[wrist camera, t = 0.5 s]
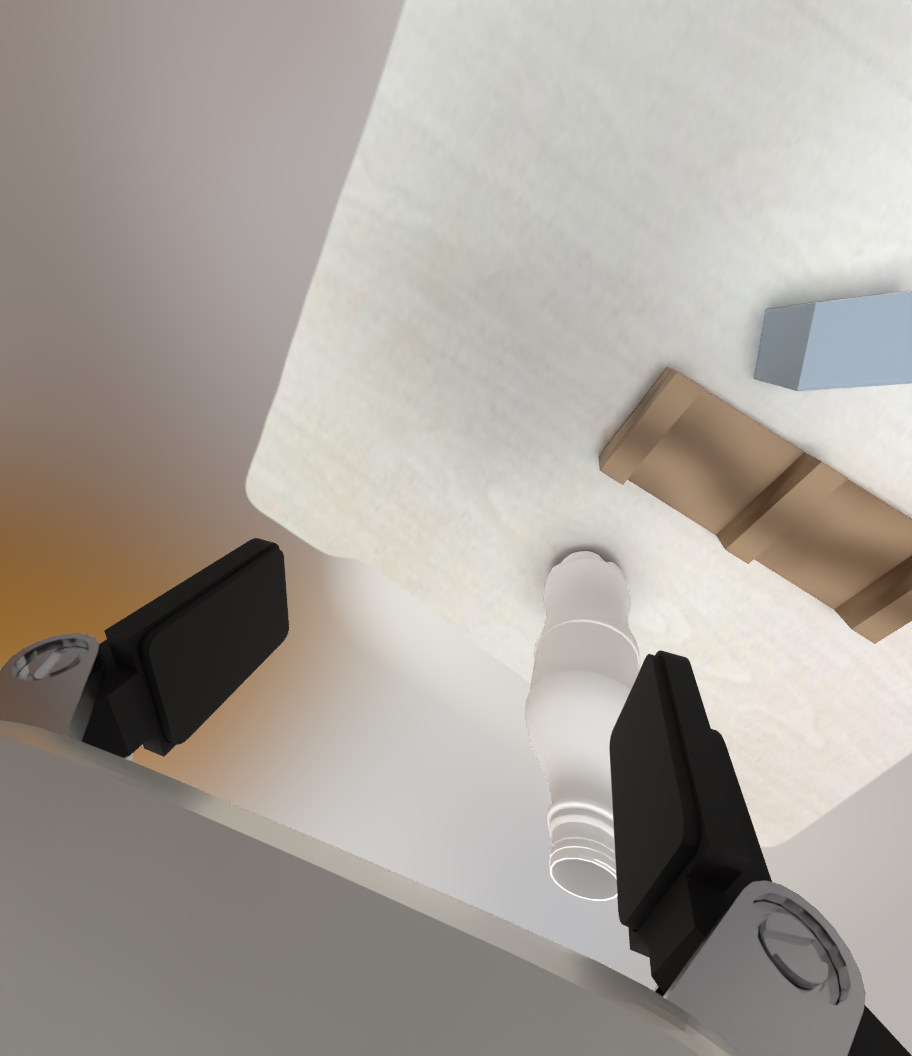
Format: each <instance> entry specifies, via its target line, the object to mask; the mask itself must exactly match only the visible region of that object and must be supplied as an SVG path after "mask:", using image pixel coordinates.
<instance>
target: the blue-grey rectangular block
mask: <svg viewBox="0 0 912 1056" xmlns="http://www.w3.org/2000/svg"><path fill="white" fill-rule="evenodd" d="M754 379H756V380H760V381H764V382H767V383H771V384H774V385H778V386H781V387H785V388H789V389H792V390H796V391H804V390H819V389H834V388H849V387H864V386H879V385H894V384H909V383H912V291H904V292H895V293H887V294H878V295H870V296H861V297H853V298H845V299H836V300H828V301H820V302H813V303H805V304H797V305H790V306H787V307H779V308H771V309H766V311H765V317H764V323H763V329H762V335H761V340H760V346H759V352H758V358H757V364H756V370H755V375H754Z"/></svg>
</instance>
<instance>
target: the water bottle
mask: <svg viewBox="0 0 912 1056" xmlns="http://www.w3.org/2000/svg"><path fill="white" fill-rule="evenodd" d="M543 600H544V604H545V609H546V620H545V625H544V628H543V631H542V633H541V635H540V637H539V639H538V640H537V642H536V645H535V649H534V659H535V661H534V668H533V674H532V680H531V687H530V692H529V694H528V697H527V700H526V709H525V719H526V727H527V732H528V736H529V739H530V742H531V745H532V748H533V750H534V752H535V755H536V758H537V760H538V762H539V765H540V767H541V769H542V771H543V773H544V775H545V778H546V780H547V782H548V785H549V788H550V792H551V800H552V804H551V805H550V806H549V808H548V810H547V817H546V818H547V824H548V826H549V836H550V838H551V841H552V842H551V847H550V857H549V864H550V875H551V877H552V878H553V880H554V881H555V883H556V884H557V885H559V886H560V887H562V889H564V890H565V891H567V892H569V893H571V894H573V895H575V896H577V897H580V898H584V899H588V900H595V901H606V900H609V899H614V898H616V897H617V879H616V860H615V842H614V824H613V806H612V788H611V770H610V751H609V744H610V737H611V733H612V730H613V728H614V726H615V724H616V722H617V719H618V717H619V715H620V713H621V711H622V708H623V706H624V704H625V702H626V700H627V697H628V695H629V693H630V691H631V689H632V687H633V684H634V682H635V680H636V678H637V676H638V673H639V671H640V664H641V662H640V655H639V649H638V646H637V643H636V640H635V638H634V636H633V634H632V633H631V631H630V629H629V626H628V621H627V620H628V613H629V610H630V594H629V589H628V584H627V581H626V579H625V577H624V575H623V573H622V572H621V570H620V569H619V567H618V566H617V565H616V564H615V563H613V562H605V561H604V560H603V559H602V558H601V557H600V556H599V555H598V554H595V553H593V552H589V551H581V552H575V553H572V554H570V555H569V556H567V557H566V558H565V559H563V561H562V562H561V563H560V564H557V565H556V566H554V567H553V568H552V569H551V571H550V573H549V575H548V577H547V580H546V584H545V588H544V595H543Z"/></svg>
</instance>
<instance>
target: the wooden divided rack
mask: <svg viewBox="0 0 912 1056" xmlns="http://www.w3.org/2000/svg"><path fill="white" fill-rule="evenodd" d="M599 466H600V471H601V472H603V473H605V474H606V475H608V476H609V477H611V478H613V479H614V480H616V481H617V482H619V483H621V484H622V485H623V484H624V483H625V481H626V480H627V479H628V480H629V481H631V482H633V483H634V484H636V485H637V486H639V487H640V488H642V489H644V490H645V491H647V492H648V493H650V494H652V495H653V496H655V497H656V498H658V499H660V500H661V501H663V502H664V503H666V504H667V505H669V506H671V507H672V508H674V509H675V510H677V511H679V512H680V513H682V514H683V515H685V516H687V517H688V518H690V519H691V520H693V521H694V522H696V523H698V524H699V525H701V526H702V527H704V528H706V529H707V530H709V531H710V532H712V533H713V534H715V535H716V536H717V537H718V539H719V540H720V542H721V544H722V545H723V547H724V548H725V550H727V551H728V552H730V553H732V554H733V555H735V556H736V557H738V558H739V559H741V560H743V561H744V562H746V563H747V564H749V563H750V562H751V561H752V560H753V559H755V560H756V561H758V562H760V563H761V564H763V565H764V566H766V567H767V568H769V569H771V570H772V571H774V572H775V573H777V574H779V575H780V576H782V577H783V578H785V579H786V580H788V581H790V582H791V583H793V584H794V585H796V586H798V587H799V588H801V589H802V590H804V591H806V592H807V593H809V594H810V595H812V596H813V597H815V598H817V599H818V600H820V601H821V602H823V603H825V604H826V605H828V606H829V607H831V608H832V609H834V610H835V611H836V612H837V613H838V614H839V616H840V617H841V618H842V619H843V620H844V621H845V622H846V623H847V625H848V626H849V627H850V628H851V629H852V630H854V631H855V632H857V633H858V634H860V635H862V636H863V637H865V638H866V639H868V640H870V641H871V642H873V643H874V644H875V643H877V642H878V641H880V640H882V639H883V638H885V637H886V636H888V635H890V634H891V633H893V632H895V631H896V630H898V629H899V628H901V627H903V626H904V625H906V624H907V623H909V622H911V621H912V519H910V518H909V517H907V516H906V515H904V514H902V513H901V512H899V511H898V510H896V509H894V508H893V507H891V506H890V505H888V504H886V503H885V502H883V501H882V500H880V499H878V498H877V497H875V496H874V495H872V494H870V493H869V492H867V491H866V490H864V489H862V488H861V487H859V486H858V485H856V484H854V483H853V482H851V481H850V480H848V478H847V477H845V476H844V475H842V474H840V473H839V472H837V471H836V470H834V469H832V468H831V467H829V466H828V465H826V464H824V463H823V462H821V461H819V460H817V459H816V458H814V457H812V456H810V455H809V454H807V453H805V452H803V451H802V450H800V449H798V448H797V447H795V446H794V445H792V444H790V443H789V442H787V441H786V440H784V439H782V438H781V437H779V436H778V435H776V434H774V433H773V432H771V431H770V430H768V429H766V428H765V427H763V426H762V425H760V424H759V423H757V422H755V421H754V420H752V419H751V418H749V417H747V416H746V415H744V414H743V413H741V412H739V411H738V410H736V409H735V408H733V407H731V406H730V405H728V404H727V403H725V402H723V401H722V400H720V399H719V398H717V397H715V396H714V395H712V394H711V393H709V392H707V391H706V390H704V389H703V387H701V386H700V385H698V384H697V383H695V382H693V381H692V380H690V379H689V378H687V377H685V376H684V375H682V374H681V373H679V372H677V371H675V370H673V369H670V368H668V367H667V368H666V369H665V371H664V372H663V373H662V375H661V376H660V377H659V379H658V380H657V381H656V382H655V384H654V385H653V386H652V388H651V389H650V390H649V392H648V393H647V394H646V395H645V397H644V398H643V399H642V401H641V402H640V403H639V405H638V406H637V407H636V408H635V410H634V411H633V412H632V414H631V415H630V416H629V418H628V419H627V420H626V421H625V423H624V424H623V425H622V427H621V428H620V429H619V431H618V432H617V433H616V435H615V436H614V437H613V438H612V440H611V441H610V442H609V444H608V445H607V446H606V448H605V449H604V450H603V451H602V453H601V454H600V455H599Z"/></svg>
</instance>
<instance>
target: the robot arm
mask: <svg viewBox="0 0 912 1056" xmlns="http://www.w3.org/2000/svg"><path fill="white" fill-rule="evenodd" d="M288 631H289V621H288V608H287V594H286V581H285V567H284V555H283V552H282V551H281V550H280V549H279V546H278V545H277V544H276V543H273V542H269V541H265V540H262V539H258V538H254V539H252V540H250V541H248V542H246V543H245V544H243V545H242V546H240V547H238V548H237V549H235V550H234V551H232V552H230V553H229V554H227V555H225V556H224V557H222V558H221V559H219V560H217V561H216V562H214V563H213V564H211V565H209V566H208V567H206V568H205V569H203V570H201V571H200V572H198V573H196V574H195V575H193V576H192V577H190V578H188V579H187V580H185V581H184V582H182V583H180V584H179V585H177V586H175V587H174V588H172V589H171V590H169V591H167V592H166V593H164V594H163V595H161V596H159V597H158V598H156V599H155V600H153V601H152V602H150V603H148V604H146V605H145V606H143V607H142V608H140V609H138V610H137V611H135V612H134V613H132V614H130V615H129V616H127V617H126V618H124V619H122V620H121V621H119V622H117V623H116V624H114V625H113V626H111V627H110V628H108V629H106V630H105V634H106V637H107V640H105V641H104V642H102V643H101V644H99V643H98V641H97V640H96V638H94V637H92V636H90V635H88V634H81V633H71V634H62V635H57V636H53V637H49V638H46V639H43V640H41V641H38V642H35V643H33V644H31V645H29V646H27V647H25V648H23V649H22V650H20V651H19V652H17V653H16V654H15V655H13V656H12V657H11V658H10V659H9V660H8V661H7V662H6V663H5V664H4V665H3V667H2V668H1V670H0V1056H911V1054H910V1053H909V1052H908V1051H907V1050H906V1049H905V1048H904V1047H903V1046H902V1045H901V1044H900V1043H899V1041H898V1040H897V1039H896V1038H895V1037H894V1036H893V1035H892V1034H891V1033H890V1032H889V1031H888V1030H887V1028H886V1027H884V1025H883V1024H882V1023H881V1022H880V1021H879V1020H878V1019H877V1018H876V1017H875V1015H874V1014H873V1013H872V1012H871V1011H870V1010H869V1009H868V1008H867V1007H866V1006H865V1005H864V1003H865V990H864V985H863V982H862V977H861V973H860V971H859V969H858V967H857V964H856V962H855V960H854V958H853V956H852V954H851V952H850V950H849V948H848V947H847V946H846V944H845V943H844V941H843V940H842V938H841V937H840V936H839V934H838V933H837V931H836V930H835V928H834V927H833V926H832V925H831V924H830V923H829V922H828V921H827V920H826V919H825V918H824V916H823V915H822V914H821V913H820V912H819V911H818V910H817V909H816V908H815V907H813V906H812V905H811V904H809V902H807V901H806V900H805V899H804V898H802V897H801V896H800V895H799V894H797V893H795V892H793V891H791V890H790V889H788V888H786V887H784V886H782V885H780V884H776V883H773V882H772V880H771V877H770V875H769V872H768V869H767V866H766V863H765V860H764V857H763V854H762V851H761V848H760V845H759V842H758V839H757V836H756V833H755V830H754V827H753V824H752V821H751V818H750V815H749V812H748V809H747V806H746V803H745V800H744V797H743V794H742V792H741V789H740V786H739V783H738V780H737V777H736V774H735V771H734V768H733V765H732V762H731V759H730V756H729V753H728V750H727V747H726V744H725V742H724V739H723V737H722V735H721V734H720V733H719V732H718V731H716V730H713V729H711V728H710V725H709V722H708V718H707V715H706V712H705V709H704V706H703V702H702V699H701V696H700V693H699V690H698V686H697V683H696V680H695V677H694V674H693V671H692V667H691V664H690V662H689V660H688V659H687V658H686V657H682V656H679V655H675V654H672V653H668V652H664V651H658V652H657V653H656V655H655V656H654V655H651V654H648V655H647V656H646V658H645V660H644V662H643V665H642V667H641V669H640V671H639V673H638V676H637V678H636V680H635V682H634V684H633V687H632V689H631V691H630V693H629V695H628V697H627V700H626V702H625V704H624V706H623V708H622V711H621V713H620V715H619V717H618V719H617V722H616V724H615V726H614V728H613V730H612V733H611V737H610V744H609V751H610V770H611V788H612V806H613V824H614V842H615V860H616V879H617V897H618V912H619V918H620V922H621V923H622V924H623V925H625V926H627V927H629V940H630V949H631V950H633V951H635V952H638V953H640V954H642V955H645V956H647V957H649V958H650V966H651V976H652V977H653V979H654V980H655V982H656V983H657V986H656V987H655V989H654V990H651V989H649V988H648V987H646V986H644V985H642V984H640V983H638V982H636V981H634V980H632V979H630V978H628V977H626V976H624V975H622V974H620V973H619V972H617V971H615V970H612V969H611V968H609V967H607V966H605V965H603V964H601V963H599V962H597V961H595V960H593V959H591V958H588V957H586V956H584V955H582V954H579V953H577V952H575V951H573V950H571V949H569V948H566V947H564V946H562V945H560V944H558V943H555V942H553V941H551V940H549V939H546V938H544V937H542V936H540V935H538V934H535V933H533V932H531V931H529V930H527V929H524V928H522V927H520V926H518V925H515V924H513V923H511V922H509V921H507V920H504V919H502V918H500V917H498V916H495V915H493V914H491V913H488V912H486V911H484V910H481V909H479V908H477V907H474V906H472V905H469V904H467V903H465V902H463V901H460V900H458V899H456V898H453V897H451V896H449V895H446V894H444V893H442V892H440V891H437V890H435V889H432V888H430V887H428V886H425V885H423V884H421V883H419V882H416V881H414V880H412V879H409V878H407V877H405V876H402V875H400V874H398V873H395V872H393V871H390V870H388V869H386V868H384V867H381V866H379V865H377V864H374V863H372V862H370V861H367V860H365V859H363V858H360V857H358V856H355V855H353V854H351V853H349V852H346V851H344V850H341V849H339V848H337V847H334V846H332V845H330V844H327V843H325V842H323V841H320V840H318V839H316V838H313V837H311V836H309V835H306V834H304V833H301V832H299V831H297V830H294V829H292V828H290V827H287V826H285V825H283V824H280V823H278V822H275V821H273V820H271V819H268V818H266V817H263V816H261V815H259V814H256V813H254V812H252V811H249V810H247V809H244V808H242V807H240V806H237V805H235V804H233V803H230V802H228V801H226V800H223V799H220V798H218V797H216V796H214V795H211V794H209V793H206V792H204V791H201V790H199V789H197V788H194V787H192V786H190V785H187V784H185V783H182V782H180V781H178V780H175V779H173V778H170V777H168V776H166V775H163V774H161V773H158V772H156V771H154V770H151V769H149V768H146V767H144V766H141V765H139V764H137V763H134V762H132V758H133V754H134V751H135V750H136V749H138V748H139V747H140V746H141V745H142V744H143V746H144V748H145V749H147V750H149V751H152V752H154V753H156V754H159V755H161V756H165V755H166V754H167V753H168V752H169V751H170V750H171V749H172V748H173V747H174V746H175V745H176V744H181V743H183V742H185V741H186V740H187V739H188V738H189V737H190V736H191V735H192V734H193V733H194V732H195V731H196V730H197V729H198V728H199V727H200V726H201V725H202V724H203V723H204V722H205V721H206V720H207V719H208V718H209V717H210V716H211V715H212V714H213V713H214V712H215V710H217V708H219V707H220V706H221V705H222V703H224V701H225V700H226V699H227V698H228V697H229V696H230V695H231V694H232V693H233V692H234V691H235V690H236V689H237V688H238V687H239V686H240V685H241V684H242V683H243V682H244V681H245V680H246V679H247V678H248V677H249V676H250V675H251V674H252V673H253V671H255V670H256V669H257V668H258V667H259V666H260V665H261V664H262V663H263V662H264V661H265V659H267V658H268V656H269V655H270V654H271V653H272V652H273V651H274V650H275V649H276V648H277V647H278V646H279V645H280V644H281V643H282V642H283V641H284V640H285V638H286V636H287V634H288Z"/></svg>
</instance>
